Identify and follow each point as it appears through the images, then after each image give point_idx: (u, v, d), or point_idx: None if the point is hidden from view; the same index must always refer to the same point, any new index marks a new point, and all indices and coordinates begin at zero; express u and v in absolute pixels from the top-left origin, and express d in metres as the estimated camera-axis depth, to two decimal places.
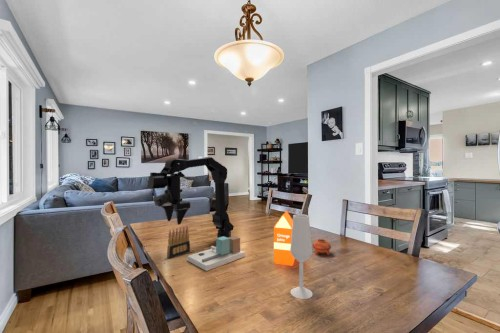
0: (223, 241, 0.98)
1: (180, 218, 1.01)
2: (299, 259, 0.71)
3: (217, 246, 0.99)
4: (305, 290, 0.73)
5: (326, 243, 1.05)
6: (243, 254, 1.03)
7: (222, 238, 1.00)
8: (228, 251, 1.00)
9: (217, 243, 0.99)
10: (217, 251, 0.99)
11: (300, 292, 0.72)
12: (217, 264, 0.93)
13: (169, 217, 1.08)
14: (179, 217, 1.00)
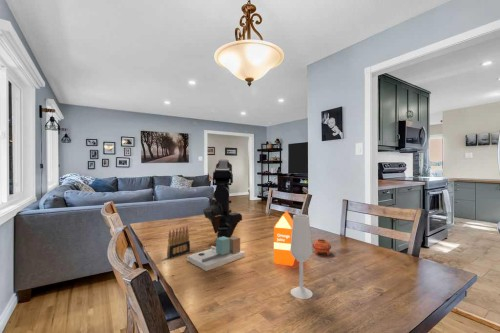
0: (223, 241, 0.98)
1: (231, 231, 0.96)
2: (299, 259, 0.71)
3: (217, 246, 0.99)
4: (305, 290, 0.73)
5: (326, 243, 1.05)
6: (243, 254, 1.03)
7: (222, 238, 1.00)
8: (228, 251, 1.00)
9: (217, 243, 0.99)
10: (217, 251, 0.99)
11: (300, 292, 0.72)
12: (217, 264, 0.93)
13: (216, 229, 1.03)
14: (230, 230, 0.96)
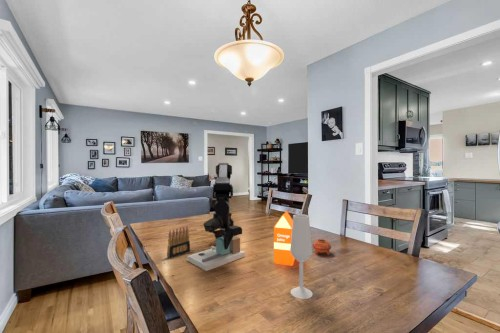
0: (223, 241, 0.98)
1: (227, 243, 0.98)
2: (299, 259, 0.71)
3: (217, 246, 0.99)
4: (305, 290, 0.73)
5: (326, 243, 1.05)
6: (243, 254, 1.03)
7: (222, 238, 1.00)
8: (228, 251, 1.00)
9: (217, 243, 0.99)
10: (217, 251, 0.99)
11: (300, 292, 0.72)
12: (217, 264, 0.93)
13: None
14: (227, 242, 0.97)
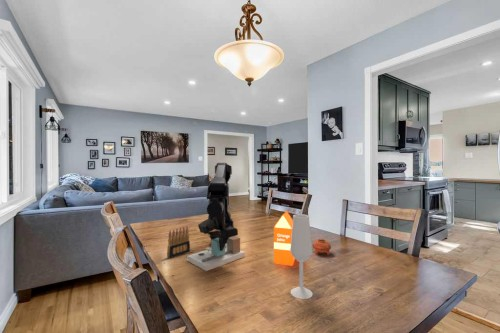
0: (218, 243, 0.96)
1: (223, 244, 0.96)
2: (299, 259, 0.71)
3: (212, 247, 0.97)
4: (305, 290, 0.73)
5: (326, 243, 1.05)
6: (243, 254, 1.03)
7: (217, 239, 0.98)
8: (224, 253, 0.98)
9: (212, 244, 0.97)
10: (212, 253, 0.97)
11: (300, 292, 0.72)
12: (217, 264, 0.93)
13: None
14: (222, 243, 0.95)
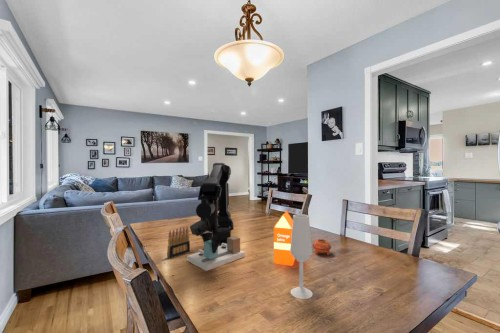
0: (211, 245, 0.93)
1: (215, 246, 0.93)
2: (299, 259, 0.71)
3: (205, 250, 0.95)
4: (305, 290, 0.73)
5: (326, 243, 1.05)
6: (243, 254, 1.03)
7: (210, 241, 0.95)
8: (217, 255, 0.95)
9: (205, 247, 0.95)
10: (205, 255, 0.95)
11: (300, 292, 0.72)
12: (217, 264, 0.93)
13: None
14: (214, 245, 0.93)
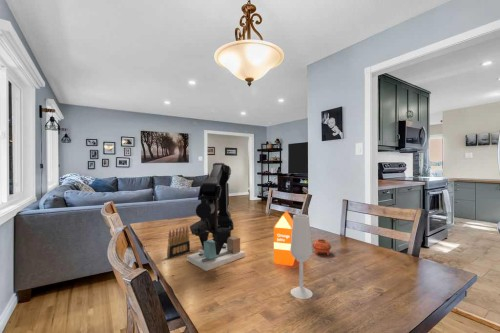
0: (211, 245, 0.93)
1: (219, 248, 0.92)
2: (299, 259, 0.71)
3: (205, 250, 0.95)
4: (305, 290, 0.73)
5: (326, 243, 1.05)
6: (243, 254, 1.03)
7: (210, 241, 0.95)
8: (217, 255, 0.95)
9: (205, 247, 0.95)
10: (205, 255, 0.95)
11: (300, 292, 0.72)
12: (217, 264, 0.93)
13: None
14: (218, 247, 0.91)
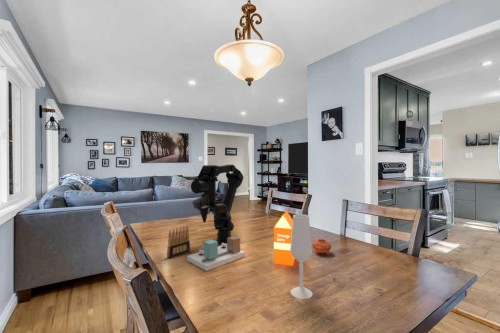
0: (211, 245, 0.93)
1: (217, 220, 1.09)
2: (299, 259, 0.71)
3: (205, 250, 0.95)
4: (305, 290, 0.73)
5: (326, 243, 1.05)
6: (243, 254, 1.03)
7: (210, 241, 0.95)
8: (217, 255, 0.95)
9: (205, 247, 0.95)
10: (205, 255, 0.95)
11: (300, 292, 0.72)
12: (217, 264, 0.93)
13: (204, 219, 1.16)
14: (216, 219, 1.09)
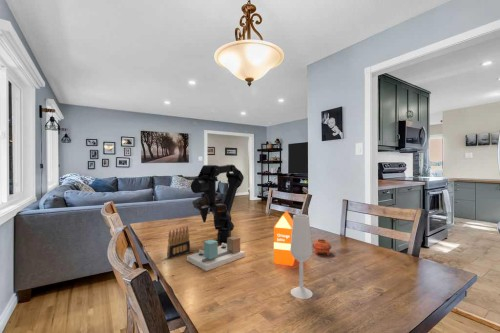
0: (211, 245, 0.93)
1: (217, 219, 1.09)
2: (299, 259, 0.71)
3: (205, 250, 0.95)
4: (305, 290, 0.73)
5: (326, 243, 1.05)
6: (243, 254, 1.03)
7: (210, 241, 0.95)
8: (217, 255, 0.95)
9: (205, 247, 0.95)
10: (205, 255, 0.95)
11: (300, 292, 0.72)
12: (217, 264, 0.93)
13: (204, 218, 1.17)
14: (216, 219, 1.09)
